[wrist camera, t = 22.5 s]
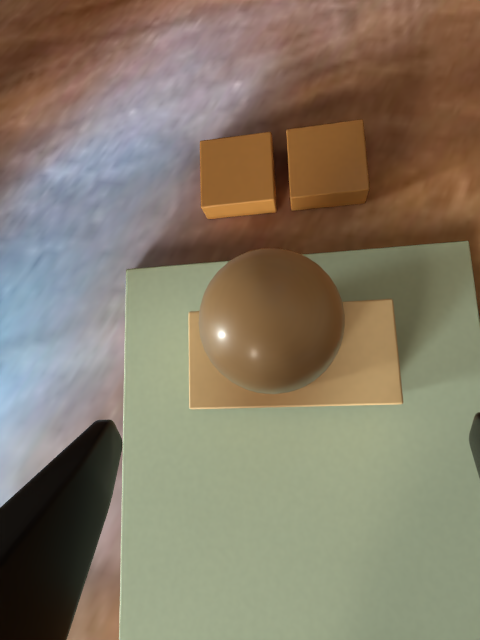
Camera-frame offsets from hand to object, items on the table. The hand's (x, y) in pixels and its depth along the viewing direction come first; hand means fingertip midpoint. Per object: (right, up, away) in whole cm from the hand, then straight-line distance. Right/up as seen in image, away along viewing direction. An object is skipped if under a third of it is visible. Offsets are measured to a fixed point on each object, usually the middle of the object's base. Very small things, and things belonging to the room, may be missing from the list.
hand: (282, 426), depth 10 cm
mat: (+2, -4, +10) cm, 11 cm away
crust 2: (+4, +11, +12) cm, 17 cm away
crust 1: (-1, +11, +13) cm, 17 cm away
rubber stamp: (+2, +1, +10) cm, 10 cm away
